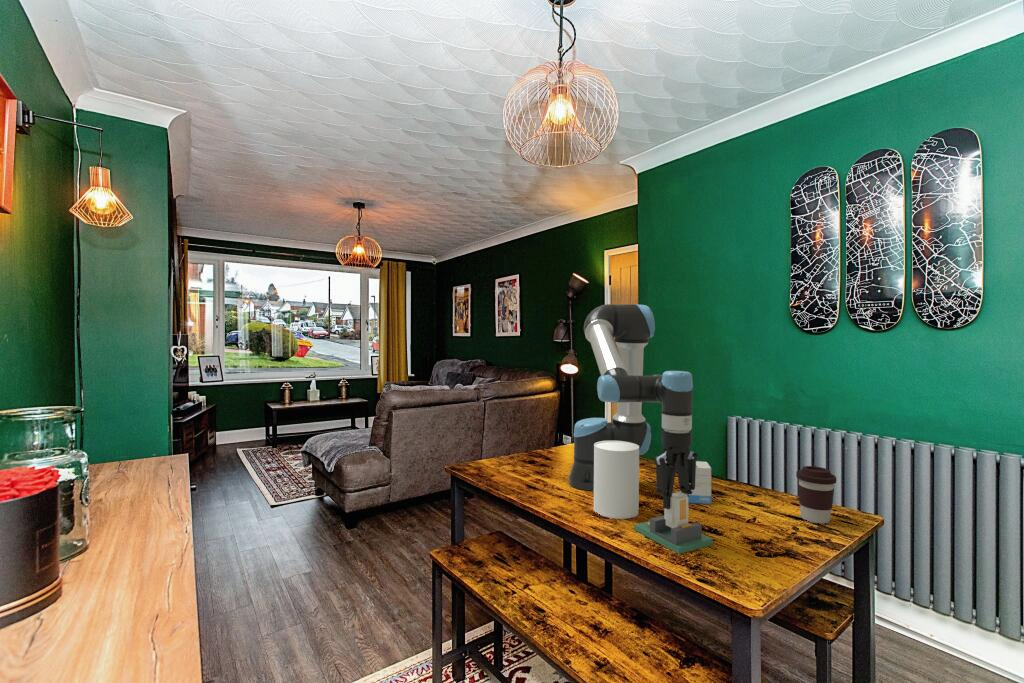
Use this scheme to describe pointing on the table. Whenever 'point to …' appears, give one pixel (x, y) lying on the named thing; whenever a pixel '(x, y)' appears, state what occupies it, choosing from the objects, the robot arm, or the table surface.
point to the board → (671, 546)
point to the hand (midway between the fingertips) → (675, 518)
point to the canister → (616, 479)
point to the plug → (679, 511)
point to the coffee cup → (815, 493)
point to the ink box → (701, 484)
